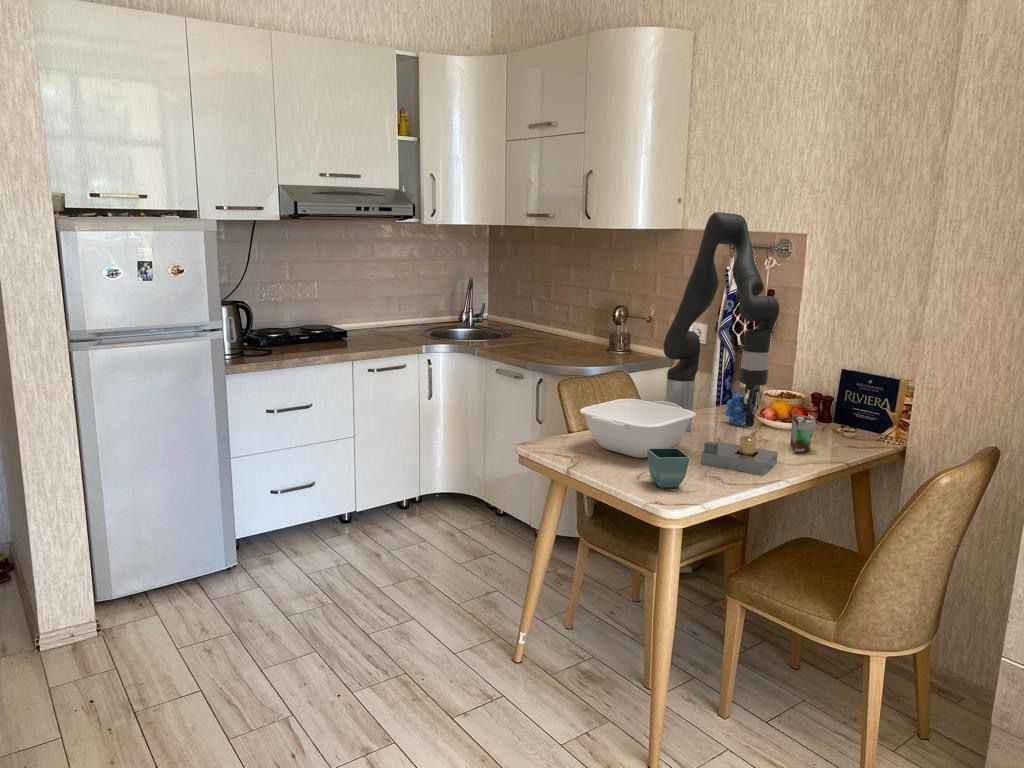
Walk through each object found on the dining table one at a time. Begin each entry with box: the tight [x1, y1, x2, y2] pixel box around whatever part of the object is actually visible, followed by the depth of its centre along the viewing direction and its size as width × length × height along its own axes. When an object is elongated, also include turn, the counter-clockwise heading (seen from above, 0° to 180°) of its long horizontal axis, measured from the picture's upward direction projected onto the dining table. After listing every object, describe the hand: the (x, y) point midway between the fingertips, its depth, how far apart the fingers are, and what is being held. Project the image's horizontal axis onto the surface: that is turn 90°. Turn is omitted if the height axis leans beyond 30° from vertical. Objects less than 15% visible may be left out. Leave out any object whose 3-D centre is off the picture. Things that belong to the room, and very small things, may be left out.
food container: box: [789, 413, 817, 455], centre depth 241 cm, size 12×6×10 cm, turn 168°
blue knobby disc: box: [724, 392, 746, 427], centre depth 269 cm, size 12×7×12 cm, turn 39°
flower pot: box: [647, 447, 690, 489], centre depth 206 cm, size 9×9×9 cm
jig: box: [700, 440, 779, 476], centre depth 226 cm, size 18×14×6 cm
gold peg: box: [739, 435, 757, 457], centre depth 225 cm, size 4×4×8 cm
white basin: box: [579, 398, 697, 459], centre depth 237 cm, size 34×28×13 cm
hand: (749, 425), depth 224 cm, fingers closed
